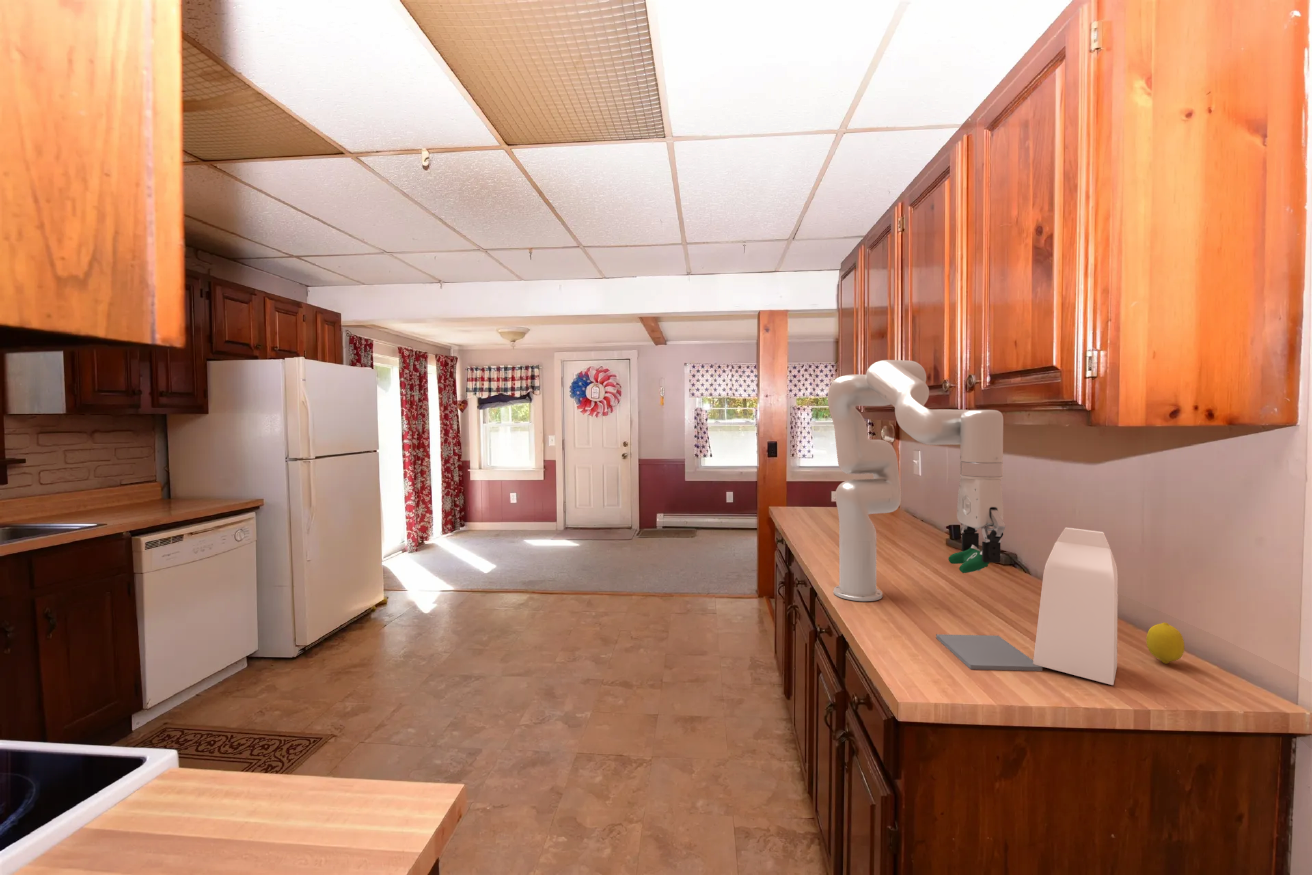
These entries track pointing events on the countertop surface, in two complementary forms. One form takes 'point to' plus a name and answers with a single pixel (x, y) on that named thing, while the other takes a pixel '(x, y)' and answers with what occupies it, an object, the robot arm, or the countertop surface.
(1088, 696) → the countertop surface
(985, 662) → the slate mat
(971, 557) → the gaming controller
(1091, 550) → the milk
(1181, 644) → the lemon
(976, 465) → the robot arm
